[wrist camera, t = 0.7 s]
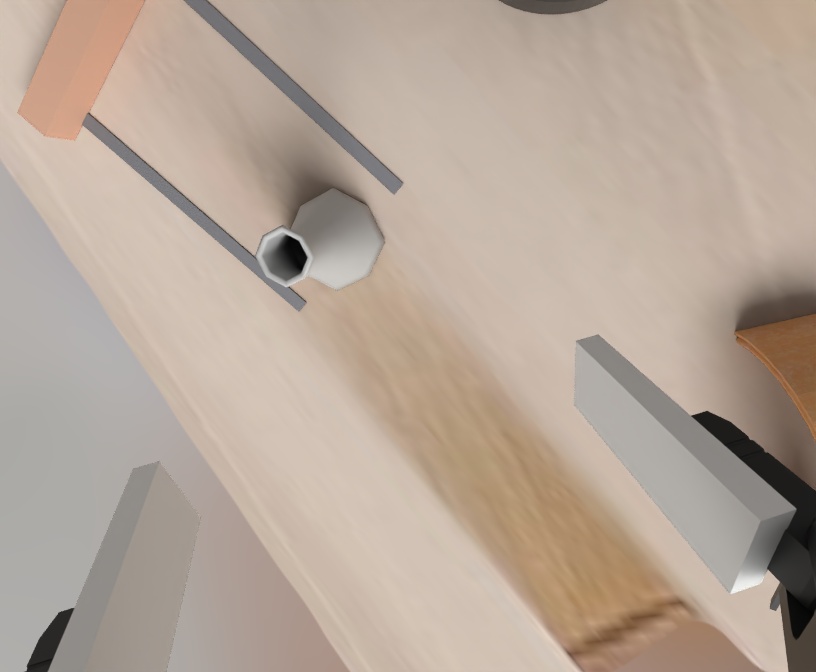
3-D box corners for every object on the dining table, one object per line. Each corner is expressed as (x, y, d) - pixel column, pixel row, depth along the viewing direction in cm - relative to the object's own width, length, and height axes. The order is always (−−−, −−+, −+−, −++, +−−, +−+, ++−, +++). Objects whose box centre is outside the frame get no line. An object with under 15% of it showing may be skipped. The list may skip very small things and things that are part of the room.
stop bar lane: (145, -88, 29) (116, -114, 26) (416, 166, 31) (412, 164, 29) (48, 118, 34) (17, 112, 31) (288, 324, 36) (276, 333, 34)
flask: (402, 242, 33) (374, 259, 23) (339, 305, 35) (290, 345, 26) (333, 169, 32) (276, 157, 23) (273, 239, 34) (197, 254, 25)
